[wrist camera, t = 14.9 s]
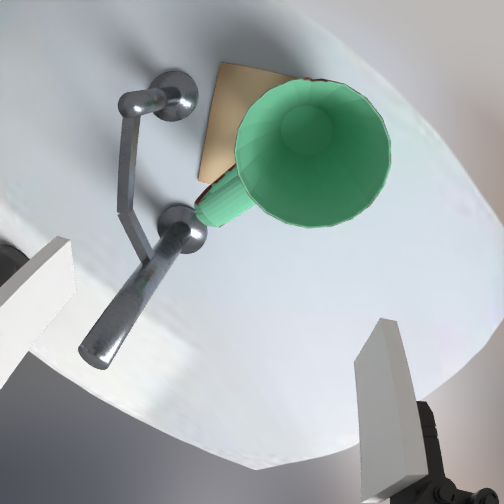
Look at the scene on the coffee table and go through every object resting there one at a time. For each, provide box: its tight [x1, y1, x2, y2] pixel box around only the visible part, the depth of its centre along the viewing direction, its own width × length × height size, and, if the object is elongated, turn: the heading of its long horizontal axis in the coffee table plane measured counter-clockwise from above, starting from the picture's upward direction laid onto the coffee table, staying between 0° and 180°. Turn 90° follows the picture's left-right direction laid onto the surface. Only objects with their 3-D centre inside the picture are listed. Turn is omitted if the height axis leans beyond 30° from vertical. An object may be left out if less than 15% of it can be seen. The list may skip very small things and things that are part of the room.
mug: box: [194, 78, 391, 228], centre depth 24 cm, size 15×10×10 cm
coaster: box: [198, 62, 299, 184], centre depth 28 cm, size 12×12×1 cm
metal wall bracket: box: [78, 71, 207, 370], centre depth 23 cm, size 8×19×19 cm, turn 168°
